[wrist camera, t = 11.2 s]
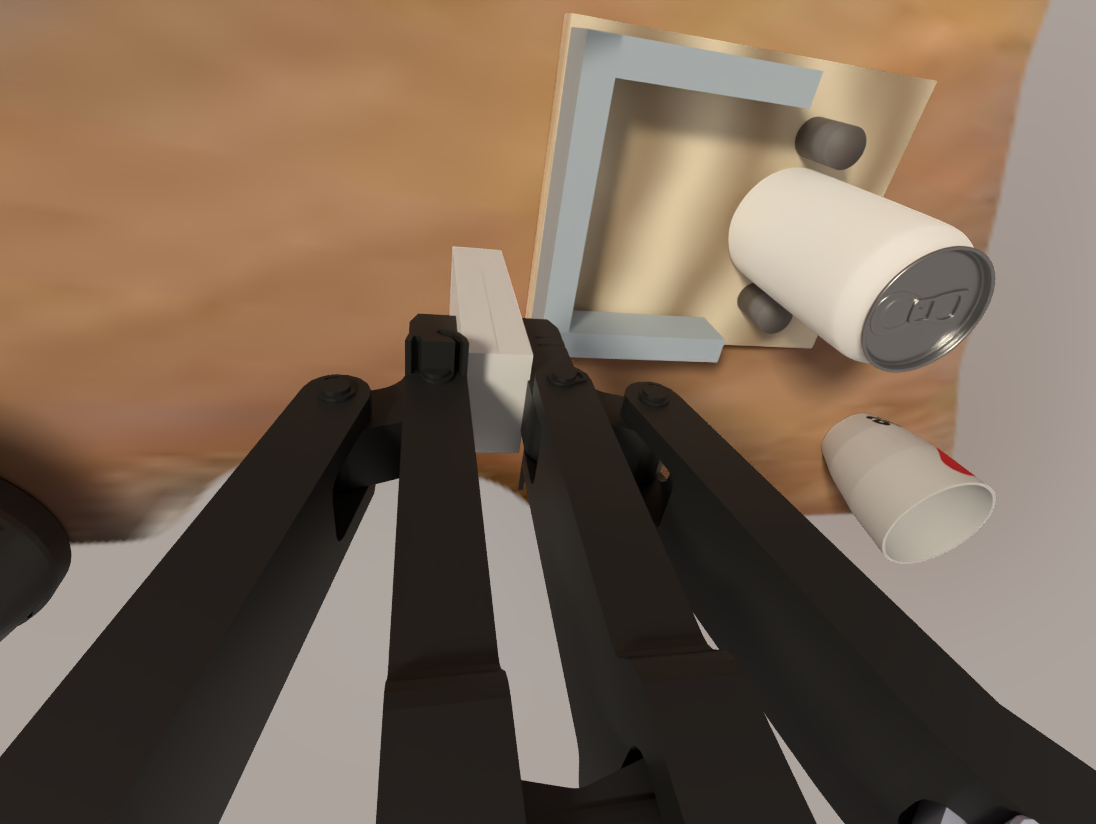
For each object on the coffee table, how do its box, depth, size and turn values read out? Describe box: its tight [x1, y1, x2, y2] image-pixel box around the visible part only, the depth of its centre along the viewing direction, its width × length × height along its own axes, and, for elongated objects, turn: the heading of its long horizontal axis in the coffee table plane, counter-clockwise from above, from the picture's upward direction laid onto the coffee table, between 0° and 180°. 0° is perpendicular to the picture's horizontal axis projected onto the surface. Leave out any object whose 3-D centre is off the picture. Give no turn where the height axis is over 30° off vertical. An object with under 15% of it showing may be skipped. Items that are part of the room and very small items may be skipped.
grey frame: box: [532, 27, 823, 362], centre depth 29 cm, size 11×15×3 cm
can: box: [728, 167, 995, 372], centre depth 27 cm, size 6×6×12 cm
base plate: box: [525, 13, 937, 348], centre depth 30 cm, size 20×16×4 cm
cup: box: [822, 413, 996, 564], centre depth 42 cm, size 8×8×10 cm
